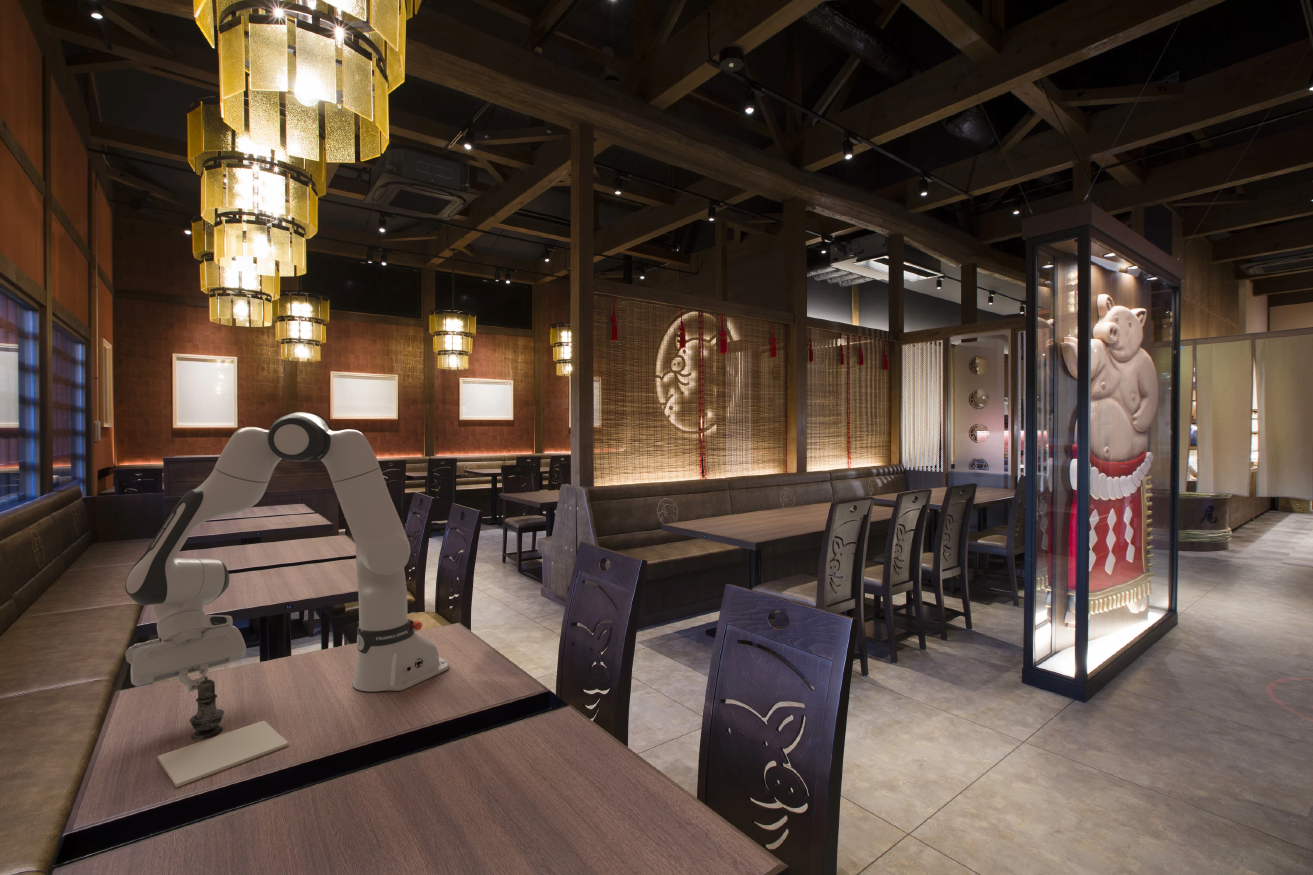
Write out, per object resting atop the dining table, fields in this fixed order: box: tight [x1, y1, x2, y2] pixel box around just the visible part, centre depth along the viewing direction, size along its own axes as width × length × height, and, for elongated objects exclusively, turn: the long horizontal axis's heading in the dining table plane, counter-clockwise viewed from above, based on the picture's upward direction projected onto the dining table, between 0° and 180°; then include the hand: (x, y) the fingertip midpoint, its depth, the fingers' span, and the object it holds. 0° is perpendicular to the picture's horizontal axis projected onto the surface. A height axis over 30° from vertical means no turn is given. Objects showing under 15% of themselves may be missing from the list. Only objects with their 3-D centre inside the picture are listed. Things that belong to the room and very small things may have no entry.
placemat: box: [157, 720, 290, 788], centre depth 119 cm, size 18×14×1 cm
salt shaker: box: [188, 675, 225, 741], centre depth 126 cm, size 6×6×12 cm
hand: (197, 688), depth 131 cm, fingers closed
